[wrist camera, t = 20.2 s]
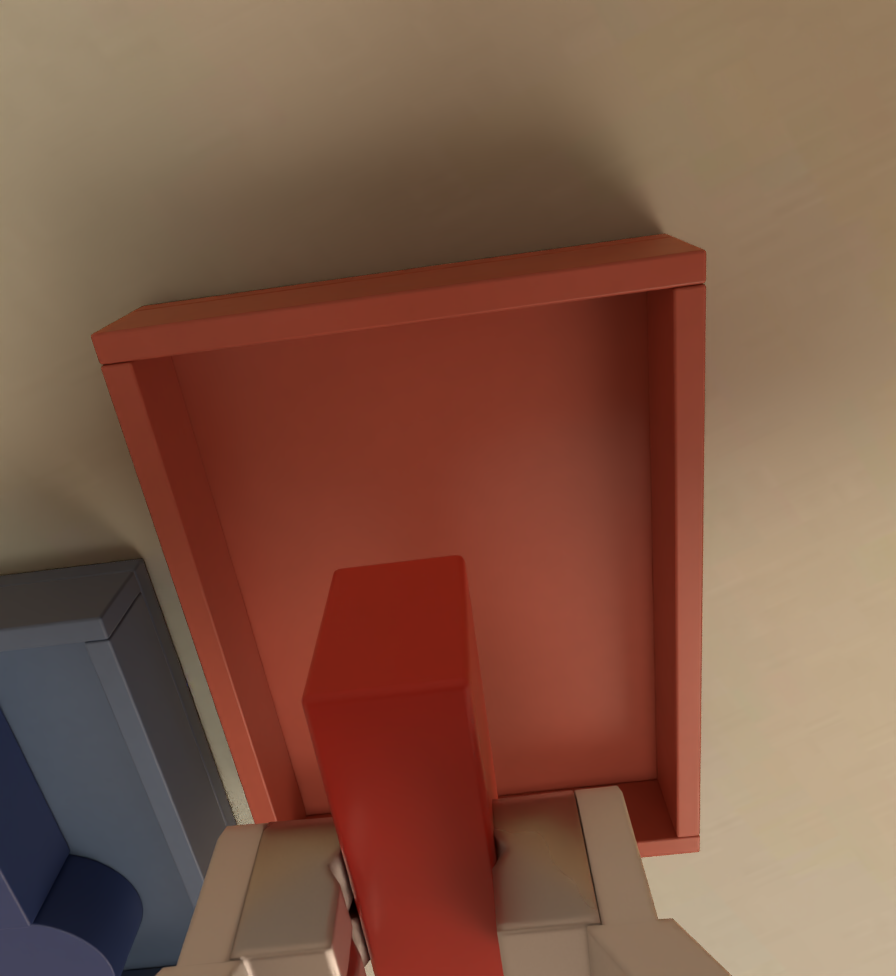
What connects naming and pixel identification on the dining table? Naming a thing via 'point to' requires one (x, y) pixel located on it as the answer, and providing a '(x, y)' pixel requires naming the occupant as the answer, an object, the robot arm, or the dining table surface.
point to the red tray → (446, 500)
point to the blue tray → (114, 738)
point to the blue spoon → (54, 888)
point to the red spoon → (408, 764)
